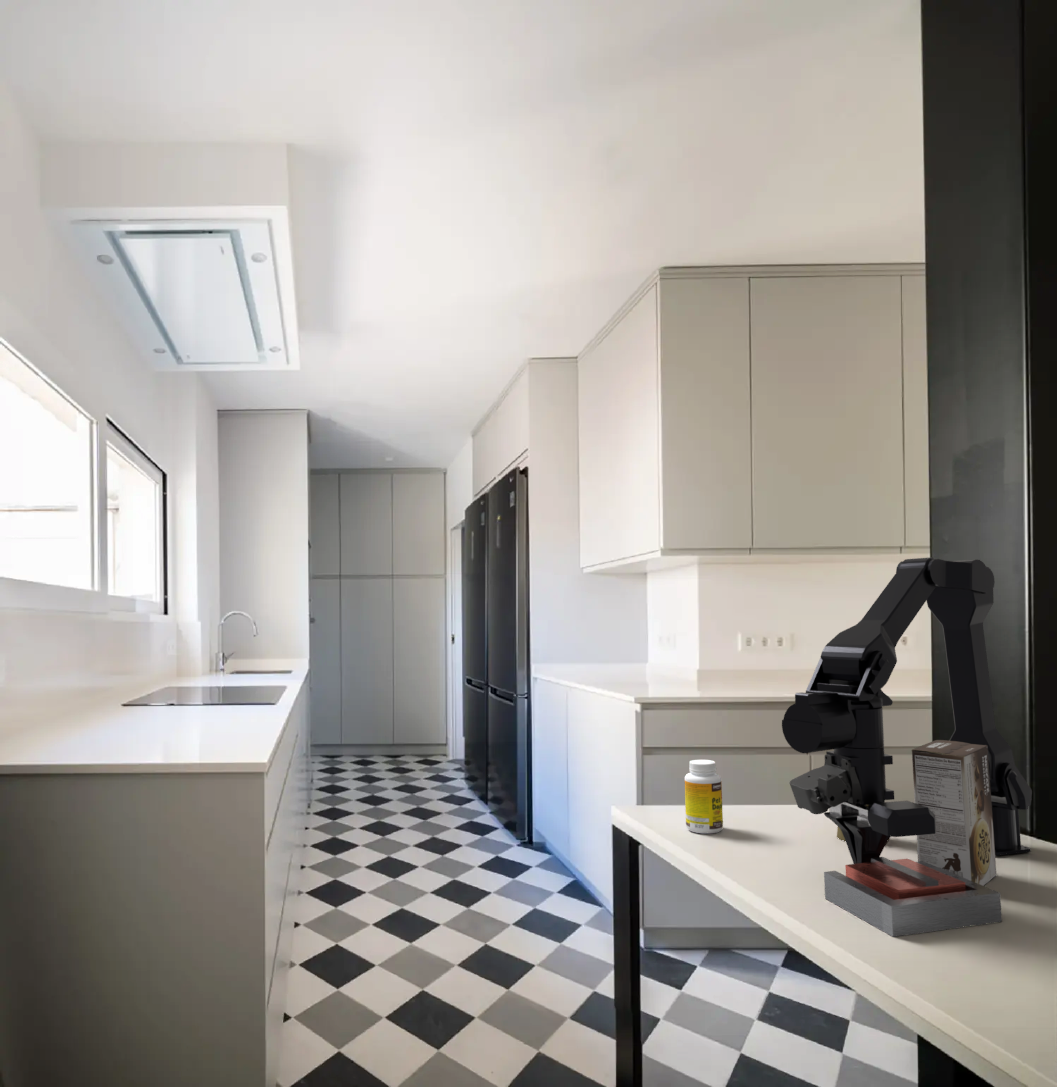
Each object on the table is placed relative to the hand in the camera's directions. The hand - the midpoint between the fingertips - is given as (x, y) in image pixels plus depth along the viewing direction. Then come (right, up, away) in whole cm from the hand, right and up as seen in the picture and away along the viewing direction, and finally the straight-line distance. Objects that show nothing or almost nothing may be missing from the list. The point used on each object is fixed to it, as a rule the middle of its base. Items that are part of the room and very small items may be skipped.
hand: (863, 877), depth 97 cm
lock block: (+2, -1, -6) cm, 7 cm away
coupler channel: (+2, -1, -7) cm, 7 cm away
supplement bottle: (-13, -4, +27) cm, 30 cm away
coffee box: (+13, -1, +2) cm, 13 cm away
